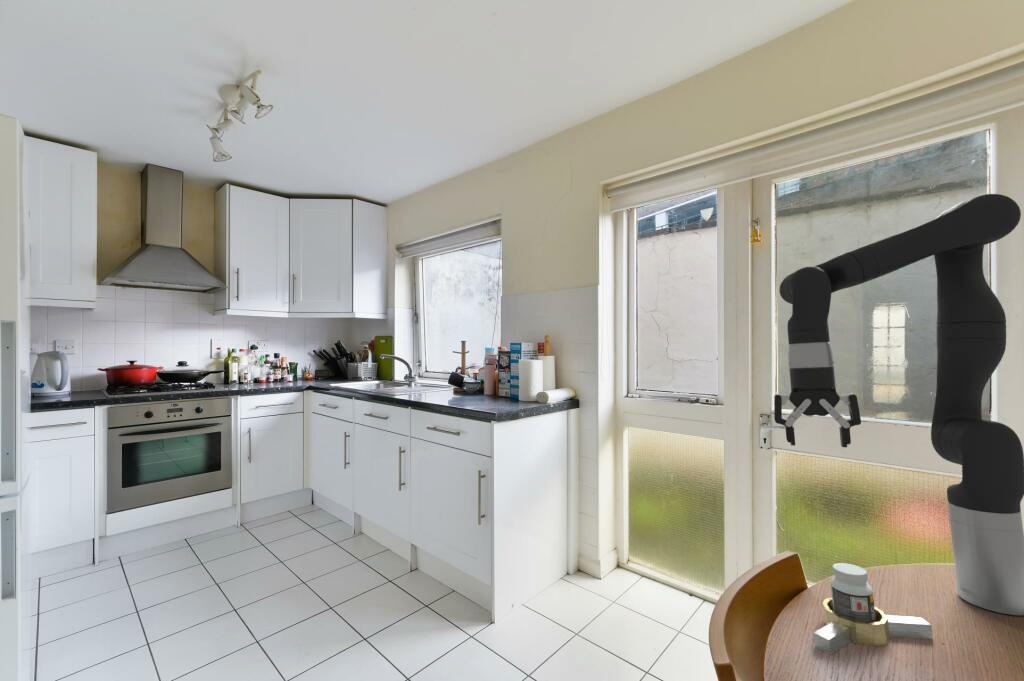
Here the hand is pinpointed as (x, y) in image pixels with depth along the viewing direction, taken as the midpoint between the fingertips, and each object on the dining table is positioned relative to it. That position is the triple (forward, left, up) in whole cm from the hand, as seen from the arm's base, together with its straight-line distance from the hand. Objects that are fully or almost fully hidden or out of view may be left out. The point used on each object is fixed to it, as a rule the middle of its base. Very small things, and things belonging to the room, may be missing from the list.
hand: (817, 445), depth 87 cm
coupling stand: (+7, +12, -28) cm, 31 cm away
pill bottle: (+7, +12, -28) cm, 31 cm away
